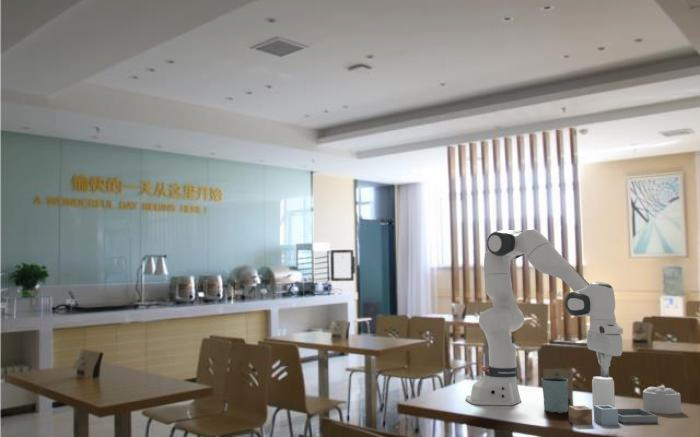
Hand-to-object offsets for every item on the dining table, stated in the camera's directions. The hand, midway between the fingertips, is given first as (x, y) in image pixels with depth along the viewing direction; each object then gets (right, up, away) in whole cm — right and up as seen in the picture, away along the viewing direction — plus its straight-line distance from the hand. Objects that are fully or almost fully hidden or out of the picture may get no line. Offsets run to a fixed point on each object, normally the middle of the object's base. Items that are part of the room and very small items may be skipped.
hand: (604, 365), depth 227 cm
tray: (+11, -21, +3) cm, 24 cm away
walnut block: (-9, -20, -2) cm, 23 cm away
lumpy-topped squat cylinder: (+29, -22, +17) cm, 40 cm away
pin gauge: (0, -4, 0) cm, 4 cm away
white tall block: (+8, -22, +20) cm, 31 cm away
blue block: (0, -20, -2) cm, 20 cm away
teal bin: (-12, -22, +18) cm, 31 cm away
